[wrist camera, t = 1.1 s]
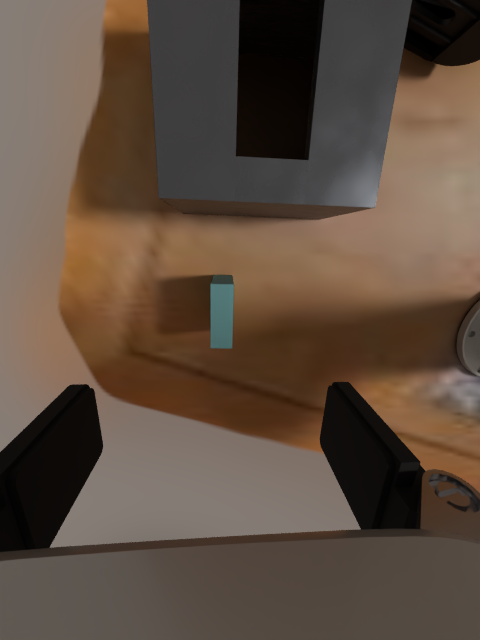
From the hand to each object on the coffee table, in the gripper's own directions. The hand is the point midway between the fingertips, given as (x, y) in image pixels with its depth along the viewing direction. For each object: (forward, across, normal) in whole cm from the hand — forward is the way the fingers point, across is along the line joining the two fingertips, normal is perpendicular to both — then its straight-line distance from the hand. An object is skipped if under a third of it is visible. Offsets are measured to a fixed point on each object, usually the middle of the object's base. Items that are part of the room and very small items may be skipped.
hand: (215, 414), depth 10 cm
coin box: (+19, -3, -16) cm, 25 cm away
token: (+19, 0, 0) cm, 19 cm away
